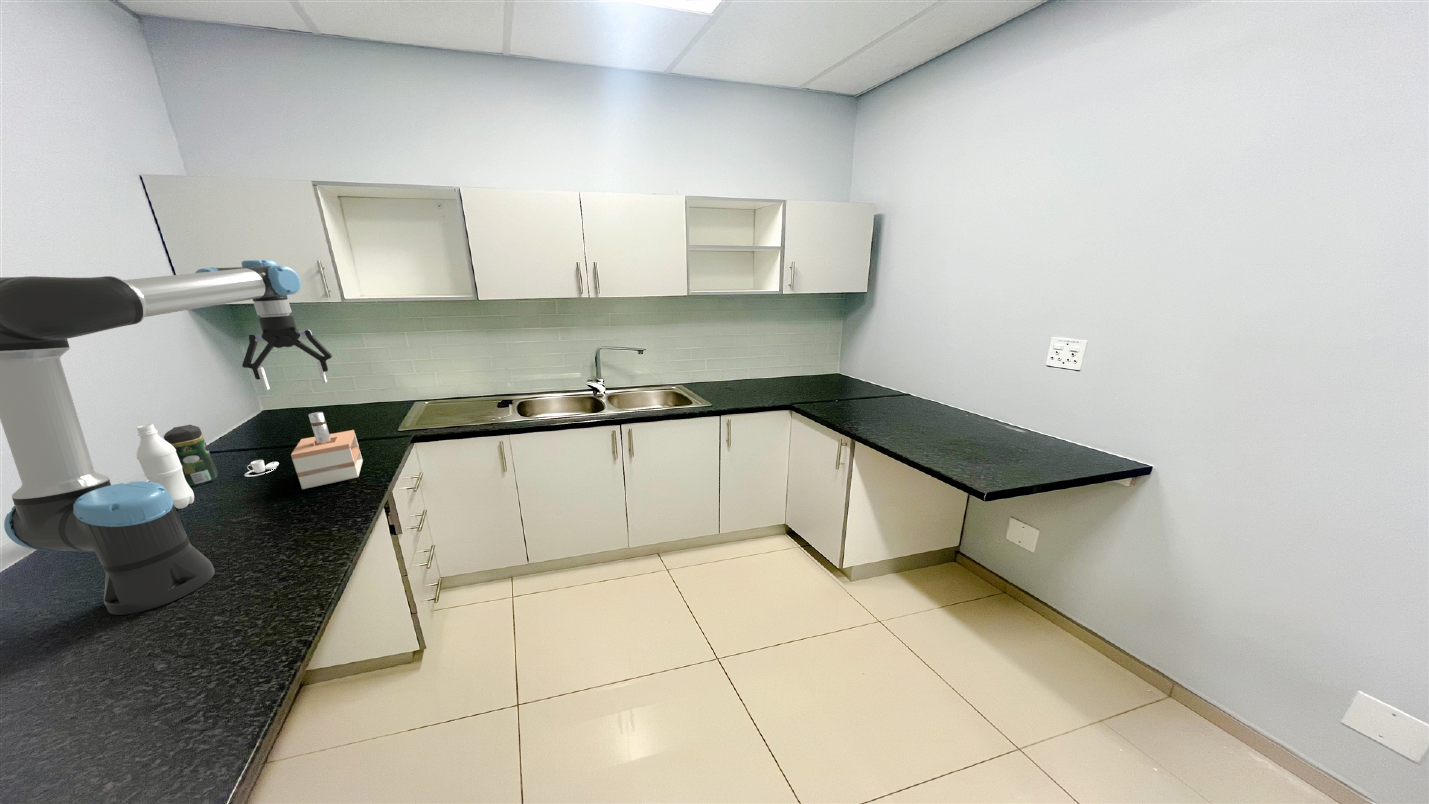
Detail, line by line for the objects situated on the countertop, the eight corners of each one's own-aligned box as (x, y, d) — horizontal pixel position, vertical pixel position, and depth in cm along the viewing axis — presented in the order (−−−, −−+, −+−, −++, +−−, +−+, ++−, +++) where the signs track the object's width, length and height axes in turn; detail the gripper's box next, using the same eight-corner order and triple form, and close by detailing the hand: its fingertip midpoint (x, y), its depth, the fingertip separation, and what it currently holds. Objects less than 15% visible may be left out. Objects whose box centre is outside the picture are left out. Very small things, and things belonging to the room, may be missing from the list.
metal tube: (339, 471, 152) (322, 414, 146) (325, 474, 150) (307, 416, 144) (340, 467, 155) (324, 411, 149) (326, 470, 153) (309, 413, 147)
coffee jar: (185, 480, 152) (163, 427, 147) (219, 472, 158) (199, 421, 152) (181, 490, 146) (158, 434, 140) (217, 481, 151) (196, 427, 145)
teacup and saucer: (280, 464, 163) (276, 454, 162) (278, 472, 157) (275, 460, 156) (246, 472, 158) (242, 461, 157) (243, 480, 152) (238, 468, 151)
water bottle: (204, 500, 138) (172, 421, 131) (175, 513, 131) (139, 430, 124) (182, 500, 139) (149, 421, 131) (153, 512, 132) (116, 430, 125)
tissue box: (358, 477, 150) (348, 444, 146) (302, 489, 143) (290, 454, 139) (362, 460, 163) (354, 429, 159) (311, 471, 156) (301, 439, 152)
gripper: (331, 311, 145) (349, 377, 151) (221, 318, 132) (245, 390, 138) (327, 312, 139) (346, 381, 145) (211, 320, 126) (237, 395, 132)
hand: (296, 386), depth 141 cm, fingers open, 13 cm apart
